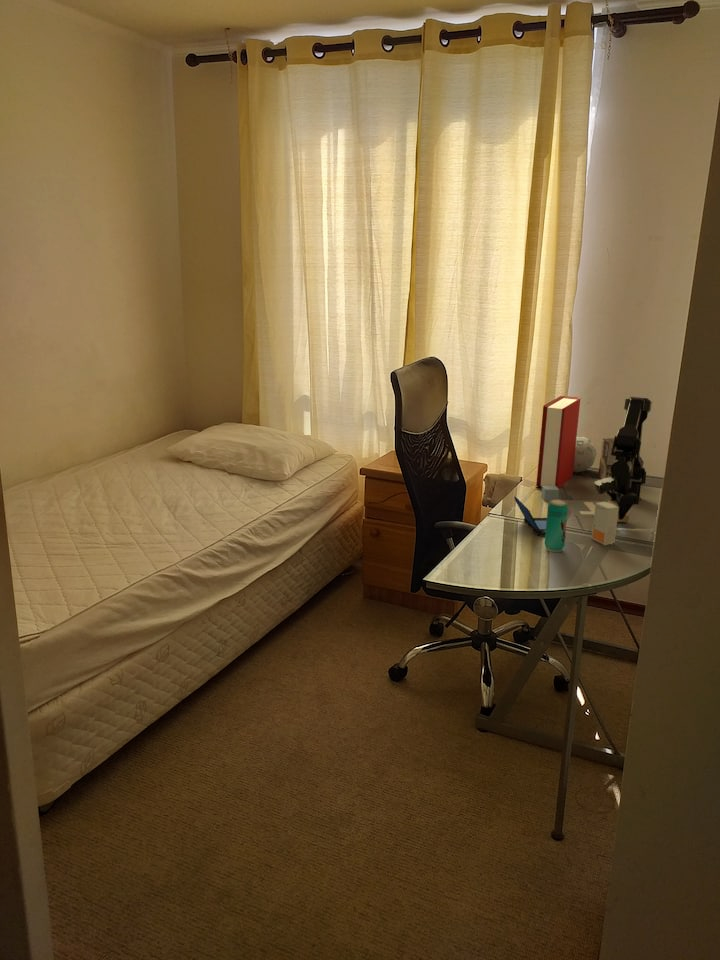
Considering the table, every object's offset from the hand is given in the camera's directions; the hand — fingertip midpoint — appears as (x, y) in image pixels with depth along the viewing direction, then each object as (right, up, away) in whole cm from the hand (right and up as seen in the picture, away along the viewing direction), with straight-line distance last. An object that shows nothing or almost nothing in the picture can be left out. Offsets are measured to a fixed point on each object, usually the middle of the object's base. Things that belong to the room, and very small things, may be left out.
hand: (617, 516), depth 247 cm
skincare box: (-10, -7, -17) cm, 21 cm away
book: (-8, +12, +50) cm, 52 cm away
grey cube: (-17, +5, +24) cm, 29 cm away
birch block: (0, -1, 0) cm, 1 cm away
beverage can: (-28, -9, -24) cm, 38 cm away
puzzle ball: (+5, +16, +65) cm, 67 cm away
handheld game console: (-28, -4, -6) cm, 29 cm away
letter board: (-4, +2, +14) cm, 15 cm away
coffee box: (+15, +12, +53) cm, 57 cm away
